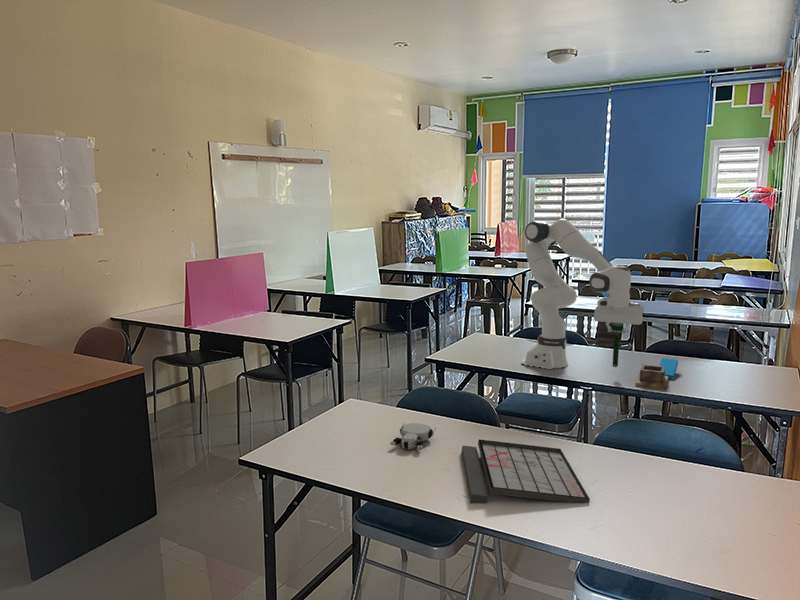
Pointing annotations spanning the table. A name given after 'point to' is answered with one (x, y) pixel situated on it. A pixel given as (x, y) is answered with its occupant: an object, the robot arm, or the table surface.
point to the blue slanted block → (669, 367)
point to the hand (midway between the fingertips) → (617, 332)
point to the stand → (652, 377)
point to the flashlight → (616, 341)
